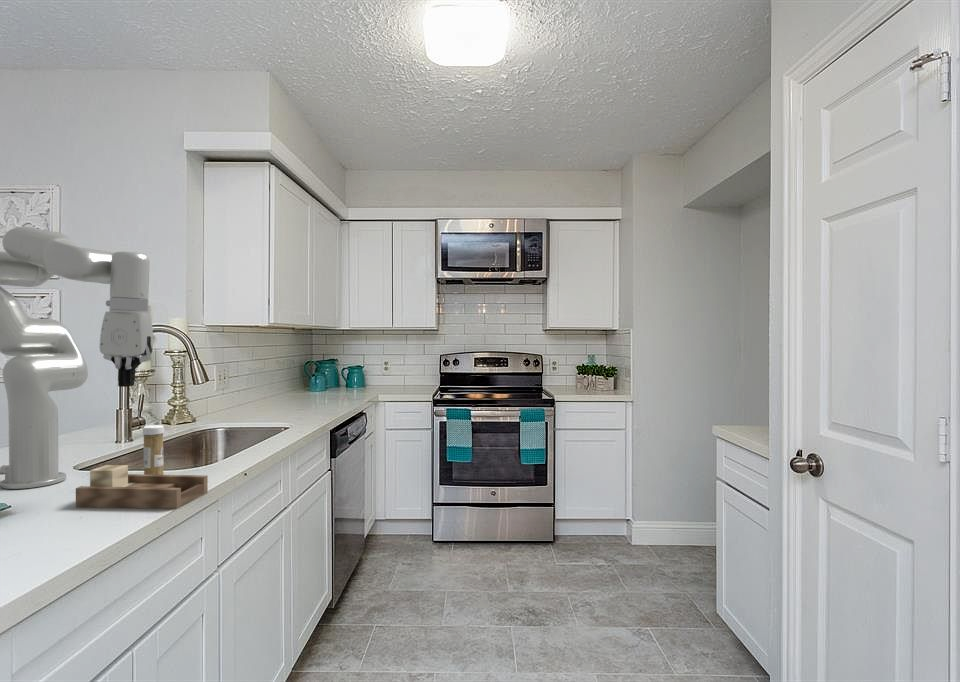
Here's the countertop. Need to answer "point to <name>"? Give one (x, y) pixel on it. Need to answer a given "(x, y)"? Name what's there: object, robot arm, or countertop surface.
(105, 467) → the beech block
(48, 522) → the countertop surface
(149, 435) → the sprinkles bottle
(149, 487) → the brown wooden tray
